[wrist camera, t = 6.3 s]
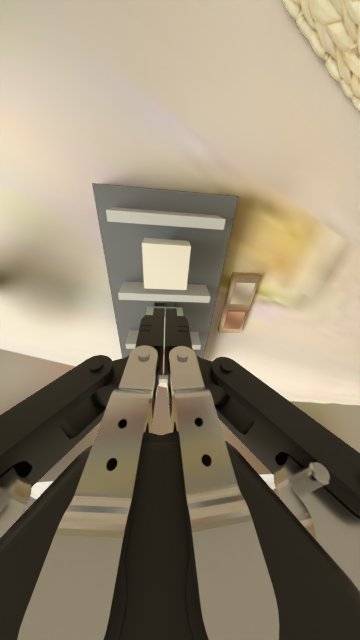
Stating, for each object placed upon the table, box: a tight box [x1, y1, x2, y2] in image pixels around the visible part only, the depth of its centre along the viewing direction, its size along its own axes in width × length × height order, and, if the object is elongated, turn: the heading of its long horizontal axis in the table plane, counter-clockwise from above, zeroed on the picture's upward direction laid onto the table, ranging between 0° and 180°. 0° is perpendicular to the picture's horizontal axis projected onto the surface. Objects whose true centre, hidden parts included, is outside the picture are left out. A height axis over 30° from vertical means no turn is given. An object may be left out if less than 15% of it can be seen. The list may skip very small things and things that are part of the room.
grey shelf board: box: [92, 183, 239, 382], centre depth 29 cm, size 32×16×6 cm, turn 176°
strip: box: [218, 273, 261, 333], centre depth 32 cm, size 12×4×1 cm, turn 176°
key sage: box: [146, 306, 183, 345], centre depth 27 cm, size 5×5×5 cm
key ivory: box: [142, 238, 191, 290], centre depth 21 cm, size 5×5×5 cm
